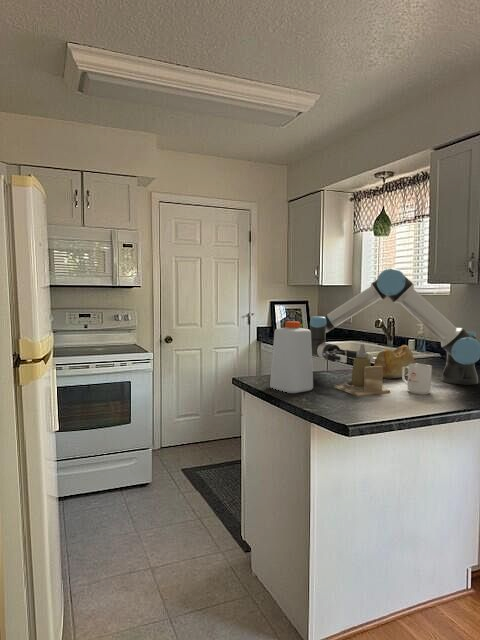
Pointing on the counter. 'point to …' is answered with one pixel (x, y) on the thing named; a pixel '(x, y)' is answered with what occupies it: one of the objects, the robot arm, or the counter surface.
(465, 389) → the counter surface
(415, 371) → the mug
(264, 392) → the counter surface
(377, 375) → the cup bracket
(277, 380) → the plastic bottle
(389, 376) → the rough brown rock
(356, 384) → the squeeze bottle
